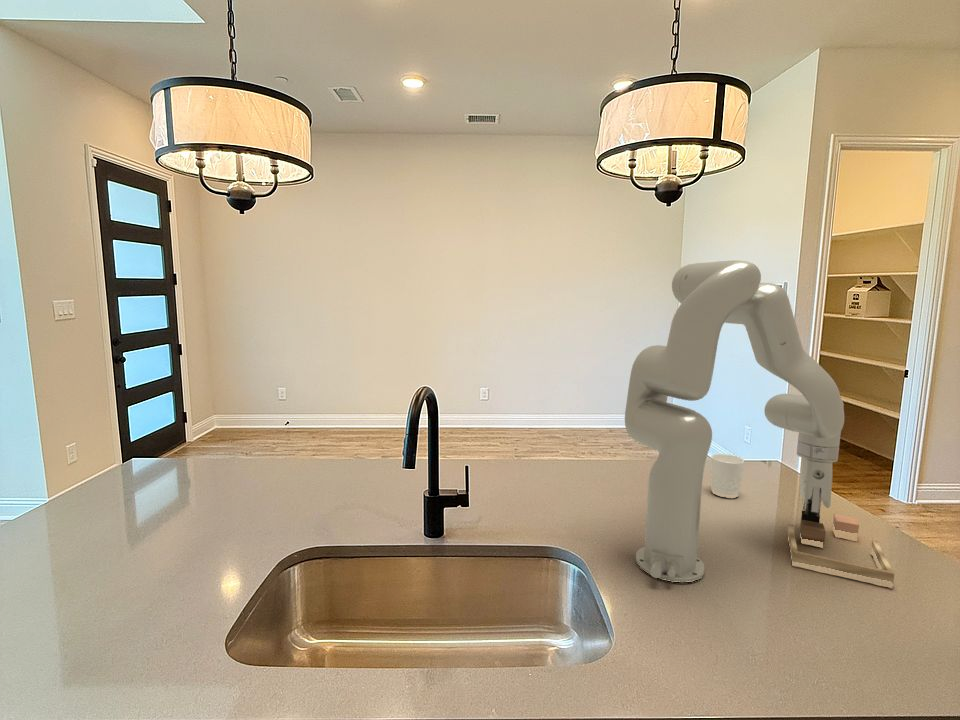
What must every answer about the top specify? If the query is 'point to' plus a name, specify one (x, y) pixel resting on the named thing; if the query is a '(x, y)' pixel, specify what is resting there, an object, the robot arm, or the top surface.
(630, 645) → the top surface
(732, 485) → the white cup
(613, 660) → the top surface
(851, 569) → the tan u-shaped piece
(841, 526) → the terracotta block
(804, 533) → the walnut block
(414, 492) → the top surface
